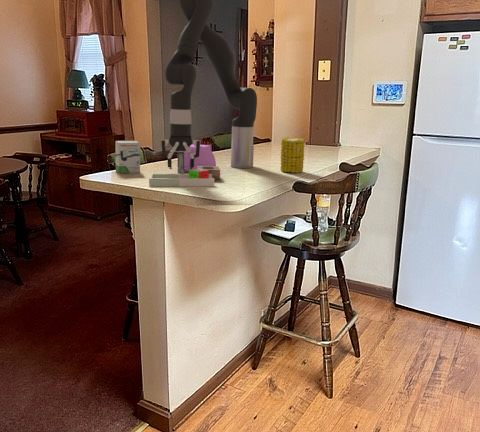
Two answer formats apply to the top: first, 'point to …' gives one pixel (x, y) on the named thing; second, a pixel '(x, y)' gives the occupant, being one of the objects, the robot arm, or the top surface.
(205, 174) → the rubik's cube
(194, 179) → the guide rails
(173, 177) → the tray
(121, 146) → the ink box
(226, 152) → the top surface
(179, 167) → the pin gauge
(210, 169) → the bore block
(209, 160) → the purple bag
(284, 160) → the food
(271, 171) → the top surface
